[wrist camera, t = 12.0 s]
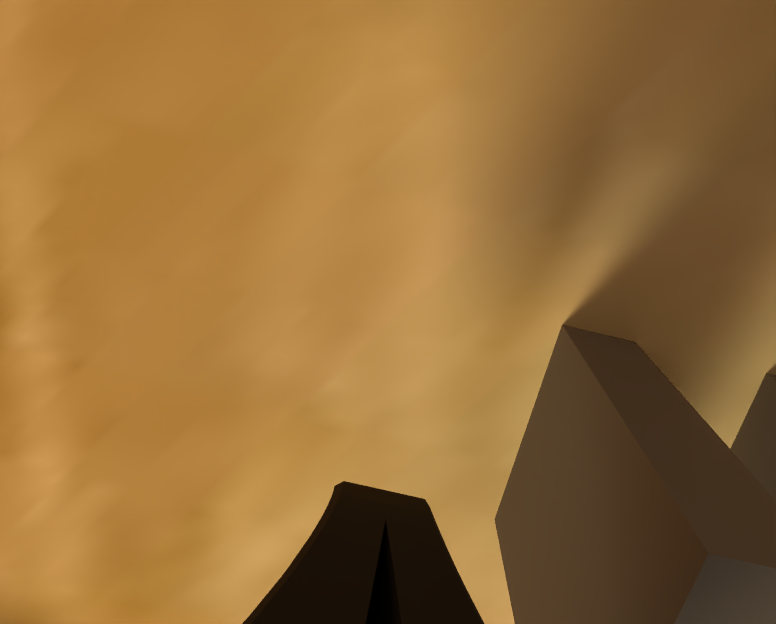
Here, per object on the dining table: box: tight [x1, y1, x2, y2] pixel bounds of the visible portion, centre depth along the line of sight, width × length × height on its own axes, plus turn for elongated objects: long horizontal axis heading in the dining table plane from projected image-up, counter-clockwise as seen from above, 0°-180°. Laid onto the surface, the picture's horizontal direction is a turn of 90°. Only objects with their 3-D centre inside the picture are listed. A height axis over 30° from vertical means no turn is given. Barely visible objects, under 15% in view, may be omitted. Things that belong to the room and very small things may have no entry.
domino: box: [495, 325, 776, 624], centre depth 11 cm, size 2×5×7 cm, turn 167°
